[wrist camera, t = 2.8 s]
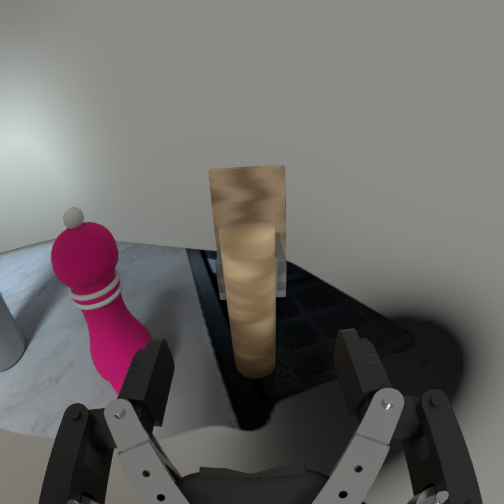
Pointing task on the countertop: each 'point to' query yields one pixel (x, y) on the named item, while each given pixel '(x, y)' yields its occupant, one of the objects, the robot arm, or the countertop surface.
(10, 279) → the countertop surface
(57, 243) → the pepper mill
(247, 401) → the countertop surface
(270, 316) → the oak post
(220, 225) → the cup bracket
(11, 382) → the countertop surface
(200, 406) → the countertop surface
